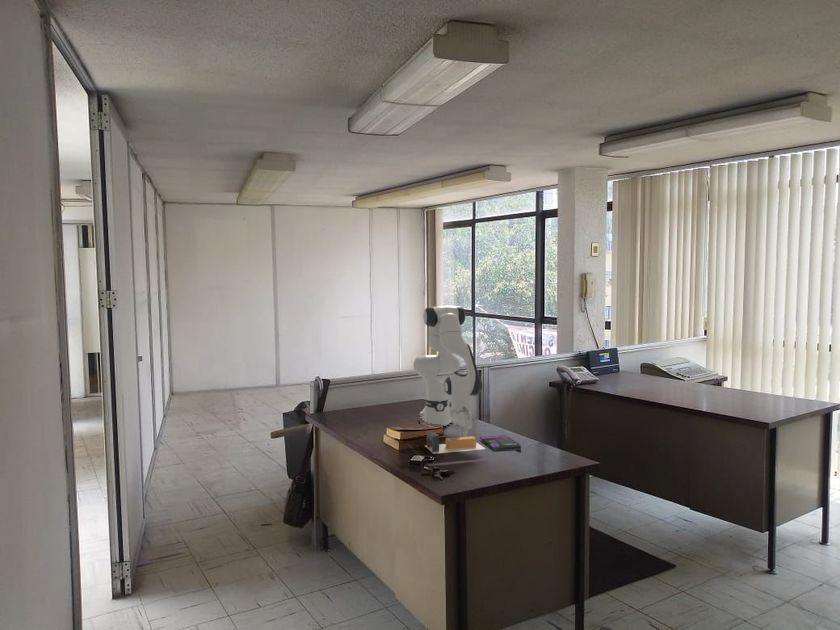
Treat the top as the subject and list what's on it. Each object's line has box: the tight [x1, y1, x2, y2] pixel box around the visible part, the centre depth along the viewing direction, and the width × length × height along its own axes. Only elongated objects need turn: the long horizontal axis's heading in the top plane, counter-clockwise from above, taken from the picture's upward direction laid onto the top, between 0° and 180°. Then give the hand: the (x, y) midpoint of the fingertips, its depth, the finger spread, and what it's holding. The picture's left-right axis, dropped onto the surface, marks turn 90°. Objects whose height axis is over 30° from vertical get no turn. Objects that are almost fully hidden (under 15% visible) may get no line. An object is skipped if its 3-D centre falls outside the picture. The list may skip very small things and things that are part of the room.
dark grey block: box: [426, 430, 440, 452], centre depth 288 cm, size 10×3×7 cm, turn 17°
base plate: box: [424, 441, 486, 454], centre depth 291 cm, size 14×26×1 cm, turn 107°
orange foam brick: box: [445, 435, 477, 449], centre depth 292 cm, size 4×14×4 cm, turn 107°
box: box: [479, 434, 522, 452], centre depth 296 cm, size 14×4×20 cm
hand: (461, 434), depth 291 cm, fingers open, 8 cm apart
